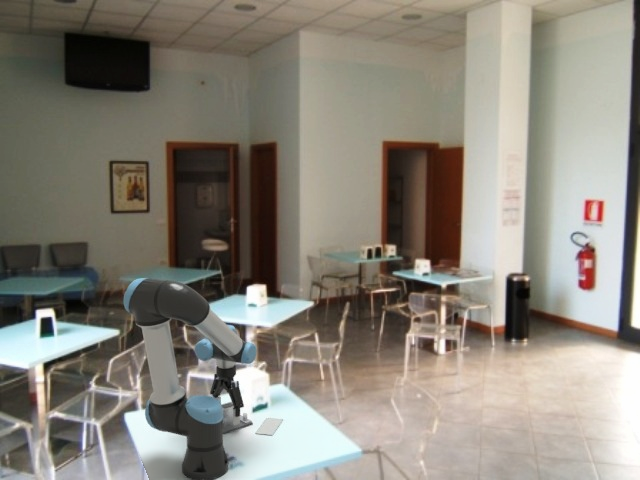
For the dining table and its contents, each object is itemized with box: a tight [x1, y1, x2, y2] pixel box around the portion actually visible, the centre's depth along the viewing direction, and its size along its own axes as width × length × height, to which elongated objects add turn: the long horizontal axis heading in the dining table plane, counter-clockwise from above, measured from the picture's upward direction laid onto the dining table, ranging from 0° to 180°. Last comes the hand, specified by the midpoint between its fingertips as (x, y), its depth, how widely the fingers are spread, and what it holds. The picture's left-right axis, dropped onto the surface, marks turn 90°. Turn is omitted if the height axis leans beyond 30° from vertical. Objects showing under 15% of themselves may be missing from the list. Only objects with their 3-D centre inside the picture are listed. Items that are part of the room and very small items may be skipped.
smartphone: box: [255, 417, 284, 437], centre depth 226 cm, size 7×1×15 cm
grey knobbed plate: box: [223, 412, 254, 435], centre depth 227 cm, size 16×12×4 cm
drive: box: [221, 401, 234, 428], centre depth 227 cm, size 7×5×7 cm
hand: (226, 418), depth 227 cm, fingers open, 13 cm apart
